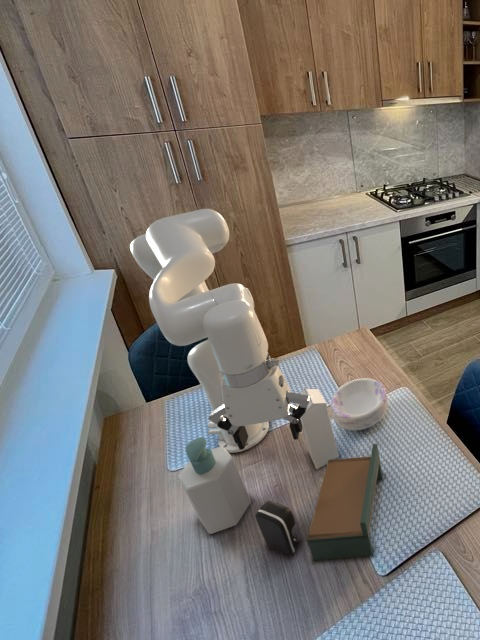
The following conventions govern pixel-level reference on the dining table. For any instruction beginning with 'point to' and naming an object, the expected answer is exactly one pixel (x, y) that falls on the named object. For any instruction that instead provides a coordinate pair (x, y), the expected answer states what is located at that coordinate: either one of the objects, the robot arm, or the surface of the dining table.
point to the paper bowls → (359, 404)
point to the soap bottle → (214, 486)
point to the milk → (318, 429)
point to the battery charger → (277, 527)
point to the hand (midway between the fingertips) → (271, 438)
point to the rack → (345, 508)
